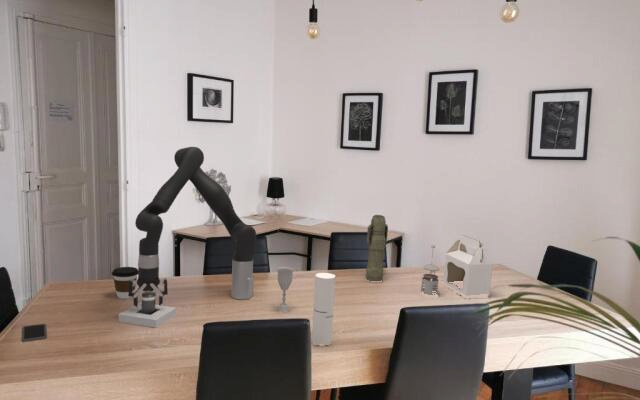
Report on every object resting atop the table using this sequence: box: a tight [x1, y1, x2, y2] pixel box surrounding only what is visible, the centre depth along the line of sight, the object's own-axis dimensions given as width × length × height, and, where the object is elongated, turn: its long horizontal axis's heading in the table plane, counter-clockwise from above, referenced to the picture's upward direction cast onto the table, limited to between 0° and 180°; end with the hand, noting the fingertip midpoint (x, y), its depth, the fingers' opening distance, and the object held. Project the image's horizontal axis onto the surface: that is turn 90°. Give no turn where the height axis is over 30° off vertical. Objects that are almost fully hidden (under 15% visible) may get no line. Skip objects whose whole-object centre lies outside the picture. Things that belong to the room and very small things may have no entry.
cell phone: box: [21, 323, 48, 343], centre depth 169 cm, size 7×14×1 cm, turn 31°
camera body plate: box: [118, 301, 177, 328], centre depth 187 cm, size 16×14×4 cm
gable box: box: [442, 234, 493, 296], centre depth 244 cm, size 22×13×28 cm, turn 16°
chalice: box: [276, 266, 295, 313], centre depth 204 cm, size 7×7×18 cm
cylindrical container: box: [311, 272, 336, 345], centre depth 173 cm, size 7×7×25 cm
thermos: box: [365, 214, 389, 281], centre depth 254 cm, size 9×12×35 cm
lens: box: [141, 291, 157, 315], centre depth 187 cm, size 5×5×10 cm
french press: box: [420, 245, 441, 295], centre depth 236 cm, size 10×12×25 cm
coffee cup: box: [111, 266, 138, 300], centre depth 209 cm, size 11×11×12 cm
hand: (148, 305), depth 187 cm, fingers open, 8 cm apart
